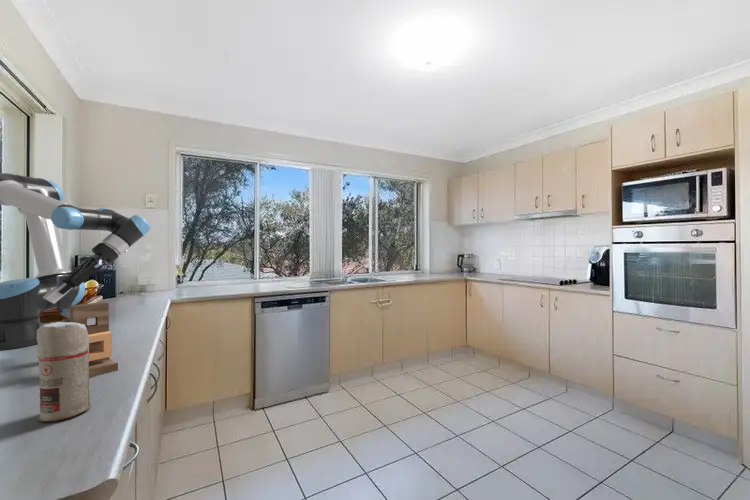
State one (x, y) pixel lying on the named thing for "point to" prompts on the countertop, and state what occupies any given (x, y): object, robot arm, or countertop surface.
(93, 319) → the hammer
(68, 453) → the countertop surface
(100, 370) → the rail base
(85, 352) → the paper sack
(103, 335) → the collar
